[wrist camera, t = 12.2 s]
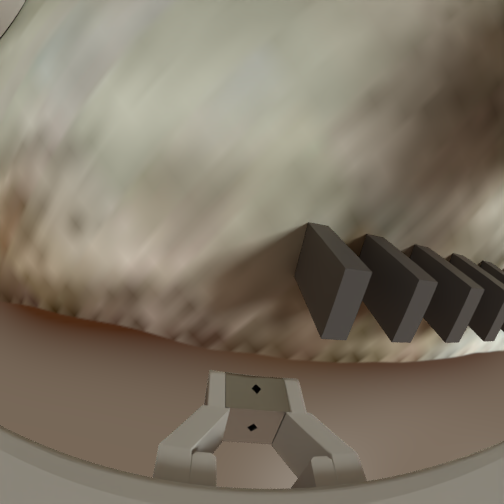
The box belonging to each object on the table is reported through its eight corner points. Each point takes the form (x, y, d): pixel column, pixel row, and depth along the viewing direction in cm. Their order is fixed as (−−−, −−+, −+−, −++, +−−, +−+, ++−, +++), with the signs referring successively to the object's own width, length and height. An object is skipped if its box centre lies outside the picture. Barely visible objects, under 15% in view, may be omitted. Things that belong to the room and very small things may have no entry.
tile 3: (398, 290, 26) (445, 342, 18) (414, 244, 24) (471, 287, 17) (411, 291, 26) (458, 342, 18) (428, 247, 24) (484, 289, 17)
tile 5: (467, 298, 27) (512, 339, 20) (482, 260, 25) (533, 296, 18) (475, 299, 27) (519, 339, 20) (490, 262, 26) (540, 297, 18)
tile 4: (436, 294, 26) (483, 341, 19) (452, 253, 25) (507, 293, 17) (447, 296, 27) (493, 340, 19) (463, 255, 25) (517, 294, 18)
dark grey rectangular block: (294, 276, 24) (321, 338, 17) (308, 222, 23) (345, 268, 15) (313, 278, 24) (346, 340, 17) (328, 226, 23) (372, 272, 15)
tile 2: (350, 283, 25) (391, 342, 18) (366, 234, 23) (419, 279, 16) (366, 286, 25) (410, 342, 18) (383, 237, 24) (438, 282, 16)
